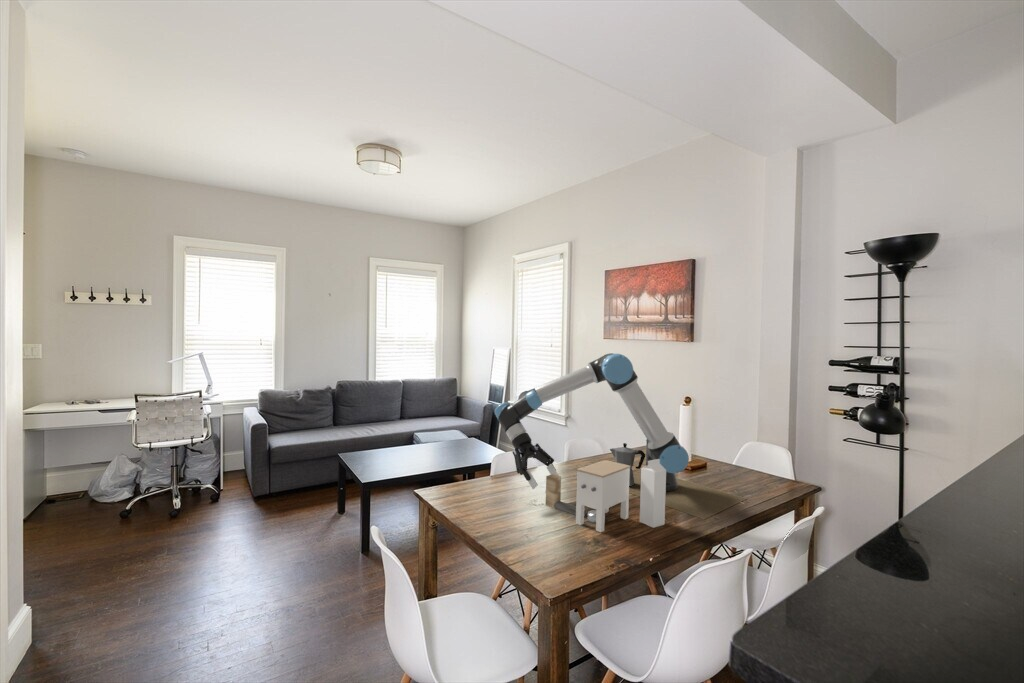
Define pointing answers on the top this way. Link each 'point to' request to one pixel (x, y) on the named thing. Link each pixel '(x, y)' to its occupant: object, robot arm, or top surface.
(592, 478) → the cabinet
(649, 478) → the milk
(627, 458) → the coffeepot
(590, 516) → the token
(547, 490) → the beige and grey pieces
